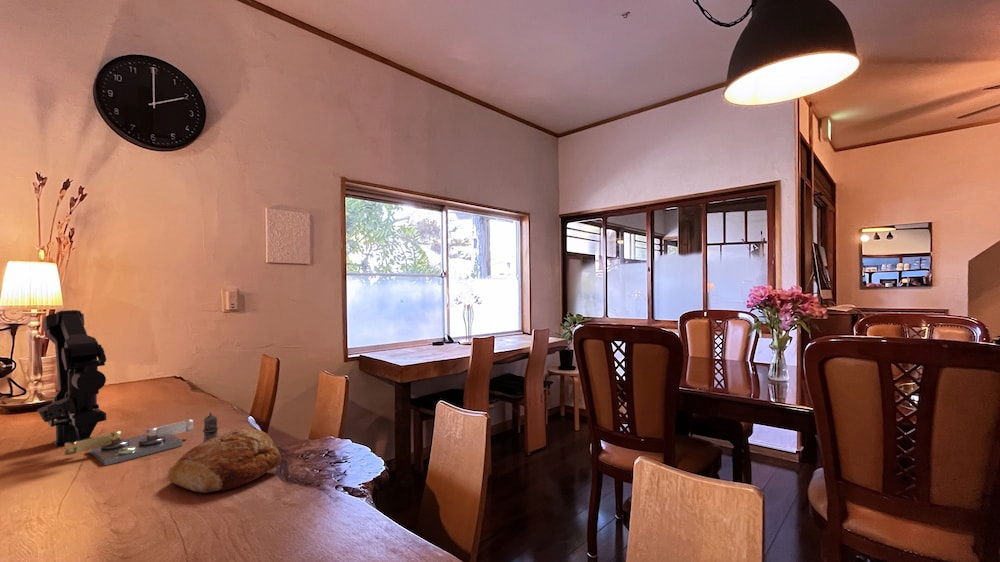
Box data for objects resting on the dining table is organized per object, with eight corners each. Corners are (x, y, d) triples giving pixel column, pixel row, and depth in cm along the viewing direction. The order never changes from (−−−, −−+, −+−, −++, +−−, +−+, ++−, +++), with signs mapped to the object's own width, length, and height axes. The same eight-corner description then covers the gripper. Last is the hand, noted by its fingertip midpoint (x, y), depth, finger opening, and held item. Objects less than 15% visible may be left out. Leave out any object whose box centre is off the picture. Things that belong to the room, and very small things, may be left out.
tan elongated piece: (126, 440, 127) (125, 427, 127) (132, 444, 123) (132, 431, 123) (62, 455, 116) (62, 441, 116) (67, 460, 113) (67, 445, 113)
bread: (283, 467, 111) (283, 428, 111) (215, 502, 94) (214, 455, 94) (225, 457, 118) (225, 420, 118) (151, 487, 101) (151, 444, 101)
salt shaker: (211, 461, 115) (210, 416, 115) (192, 460, 116) (191, 415, 116) (229, 453, 120) (228, 409, 120) (211, 451, 122) (210, 408, 122)
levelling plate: (89, 452, 122) (89, 443, 122) (163, 434, 136) (163, 426, 136) (104, 466, 113) (104, 456, 113) (182, 445, 126) (182, 436, 126)
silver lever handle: (142, 447, 121) (142, 433, 121) (135, 442, 125) (135, 429, 125) (197, 433, 132) (196, 421, 132) (189, 429, 135) (189, 417, 135)
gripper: (34, 389, 119) (34, 446, 119) (47, 398, 108) (48, 461, 108) (89, 381, 128) (89, 434, 128) (106, 389, 117) (107, 447, 117)
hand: (83, 444), depth 120 cm, fingers closed
